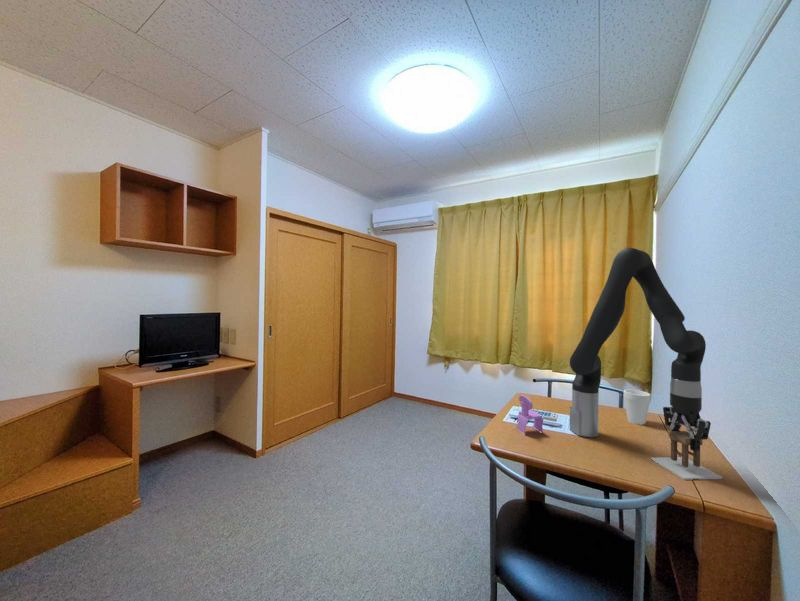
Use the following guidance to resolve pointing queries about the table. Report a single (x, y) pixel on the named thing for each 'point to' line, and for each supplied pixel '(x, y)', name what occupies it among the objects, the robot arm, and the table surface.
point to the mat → (686, 469)
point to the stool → (683, 448)
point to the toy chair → (528, 415)
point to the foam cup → (637, 405)
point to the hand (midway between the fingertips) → (685, 445)
